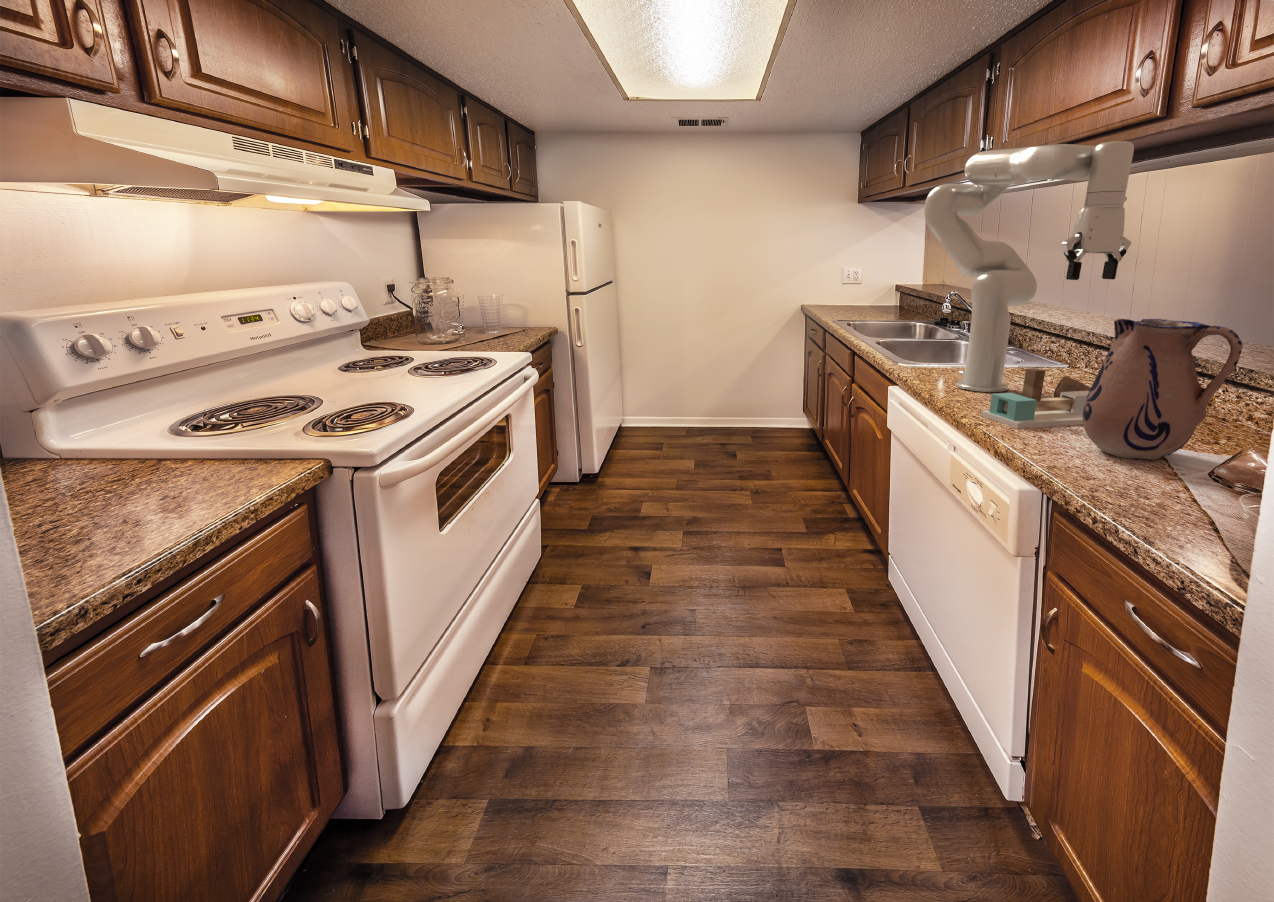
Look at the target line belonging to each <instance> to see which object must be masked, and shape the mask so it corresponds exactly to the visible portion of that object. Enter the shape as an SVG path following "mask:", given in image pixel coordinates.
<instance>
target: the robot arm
mask: <svg viewBox="0 0 1274 902" xmlns="http://www.w3.org/2000/svg"><path fill="white" fill-rule="evenodd" d="M1134 150H1135V145H1134V143H1133V142H1131V141H1127V140H1124V141H1123V140H1115V141H1107V142H1101V143H1099V144H1097V145H1086V144H1085V145H1084V144H1072V143H1070V144H1069V143H1061V144H1060V143H1058V144H1044V145H1034V146H1025V147H1018V148H1016V147H1015V148H1004V149H1003V148H1002V149H992V150H991V149H990V150H983V151H979V152H977V153H975V154H974V155H972V156H971V157H970V158H969V159H968V160H967V162H966V163H965V166H964V175H965V178H966V179H967V180H968V181H969V182H970V183H944V184H941V185H937V186H936V187H934V188H933V189H931V190H930V192H929V193H928V195H927V196H926V199H925V203H924V210H923V211H924V220H925V223H926V226H927V228H928V229H929V231H930V232H931V234H932V235H933V236H934V237H935V239H937V241H938V242H939V244H940V245H941V246H942V247H943V249H944V250H945V252H946V253H947V255H948V256H949V258H950V259H951V260H952V262H953V263H954V265H955V266H956V267H957V269H958V270H959V271H960V273H961V274H962V275H964V276H966V277H969V278H970V277H971V278H975V279H974V281H973V283H972V285H971V288H970V289H971V290H970V291H971V292H970V297H971V320H970V329H969V337H968V344H967V345H968V346H967V352H966V361H965V365H964V366H965V368H964V369H963V370H959V371H958V372H957V373H958V375H959V376H961V377H962V378H961V380H958V381H957V383H956V386H957V387H958V388H959V389H963V390H965V389H966V391H972V392H979V393H980V392H981V393H1003V392H1005V391H1007V390H1008V388H1009V387H1008V384H1007V383H1003V376H1004V370H1005V364H1006V359H1007V358H1006V356H1007V351H1008V344H1009V338H1010V337H1009V336H1010V329H1011V316H1010V312H1009V307H1013V306H1014V307H1015V306H1021V305H1024V304H1027V303H1029V302H1030V301H1031V300H1032V299H1033V298H1034V297H1035V295H1036V292H1037V289H1038V285H1037V280H1036V277H1035V275H1034V272H1032V270H1031V269H1030V268H1029V266H1028V265H1027V264H1026V263H1025V262H1024V260H1023V259H1022V257H1021V256H1019V254H1018V253H1017V251H1016V250H1015V249H1014V248H1013V247H1012V246H1011V245H1009V244H1007V243H1005V242H1003V241H999V240H997V241H996V240H985V239H982V238H981V237H980V235H978V234H977V232H976V231H975V229H974V228H973V227H972V226H971V225H970V223H968V222H966V221H965V220H964V219H962V218H961V217H974V216H976V215H979V214H981V213H983V212H984V211H985V210H986V209H988V208H989V206H991V205H992V204H993V203H994V202H995V201H996V200H997V199H998V198H999V197H1000V196H1001V195H1002V194H1003V193H1004V192H1005V191H1006V190H1007V189H1008V188H1009V187H1010V186H1011V185H1023V184H1025V183H1027V182H1029V181H1037V180H1040V181H1041V180H1042V181H1043V180H1044V181H1045V180H1055V181H1057V180H1060V181H1061V180H1063V181H1076V182H1077V181H1079V182H1080V181H1081V182H1082V181H1087V186H1086V187H1087V189H1086V193H1085V198H1084V199H1085V200H1084V205H1083V208H1082V207H1081V208H1080V209H1079V212H1078V214H1077V216H1076V220H1075V223H1074V225H1073V229H1072V235H1071V237H1069V238H1067V239H1066V240H1063V242H1062V243H1061V245H1062V249H1063V254H1064V256H1065V258H1066V262H1068V265H1067V269H1066V270H1067V271H1066V278H1065V279H1066V280H1069V281H1071V280H1072V281H1078V280H1079V279H1080V276H1081V270H1082V264H1083V262H1082V261H1081V260H1082V259H1083V257H1085V255H1086V254H1104V257H1106V261H1105V262H1104V264H1103V270H1102V273H1101V275H1102V276H1101V279H1103V280H1115V279H1116V278H1117V277H1116V276H1117V271H1118V266H1119V263H1120V262H1121V261H1122V259H1123V257H1124V256H1125V255H1126V254H1127V251H1128V250H1129V248H1130V246H1131V245H1132V241H1131V240H1129V239H1128V238H1126V237H1125V236H1124V232H1125V231H1124V230H1125V219H1126V218H1125V217H1126V216H1125V215H1126V213H1125V207H1124V205H1125V203H1126V202H1127V199H1128V198H1127V196H1126V194H1127V188H1128V184H1129V178H1130V172H1131V167H1132V163H1133V162H1132V161H1133V157H1134Z"/></svg>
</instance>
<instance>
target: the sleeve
mask: <svg viewBox="0 0 1274 902" xmlns="http://www.w3.org/2000/svg"><path fill="white" fill-rule="evenodd" d="M1088 393H1089V391H1073V392H1061V394H1060V397H1071V398H1073V403H1072V408H1071V410H1058V411H1060V412H1064V413H1067V414H1070V415H1083V409H1084V405H1085V402H1086V399H1087V396H1088Z"/></svg>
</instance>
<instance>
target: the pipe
mask: <svg viewBox="0 0 1274 902" xmlns="http://www.w3.org/2000/svg"><path fill="white" fill-rule="evenodd" d="M1091 387H1092V386H1091ZM1091 387H1090V386H1088V385H1087V384H1085V383H1082V382H1081V381H1079V380H1077V379H1074V378H1071V377H1070V376H1067V375H1065V376H1063V377H1062V378H1061V379H1060V380H1059V382H1058V383H1057V386H1056V387H1055V389H1054V392H1053V398H1059V397H1060V394H1061V392H1073V391H1090V389H1091Z"/></svg>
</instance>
